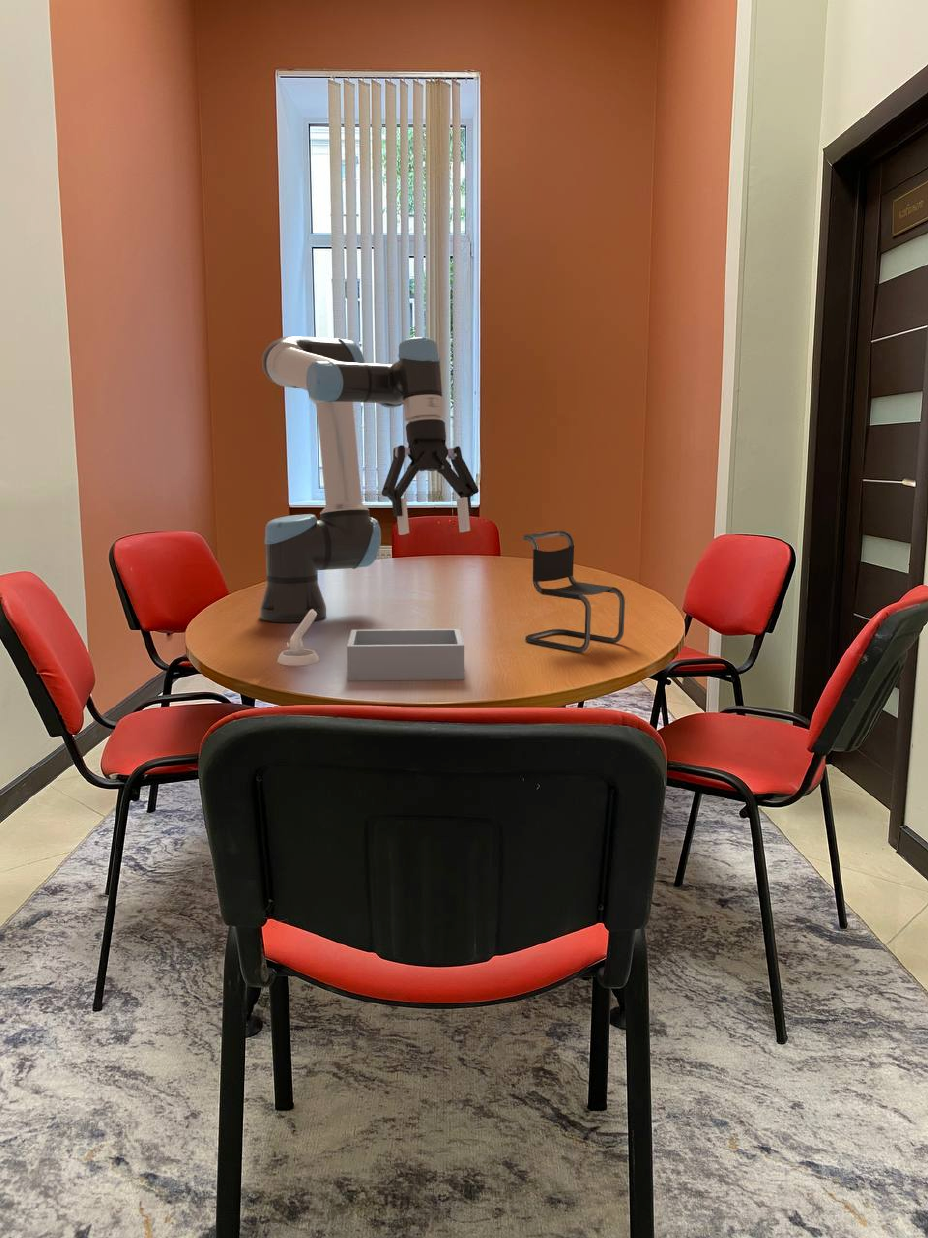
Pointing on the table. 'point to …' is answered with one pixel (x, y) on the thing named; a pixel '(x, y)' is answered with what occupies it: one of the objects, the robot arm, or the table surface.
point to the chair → (567, 590)
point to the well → (405, 654)
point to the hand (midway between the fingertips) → (435, 532)
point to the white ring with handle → (299, 646)
